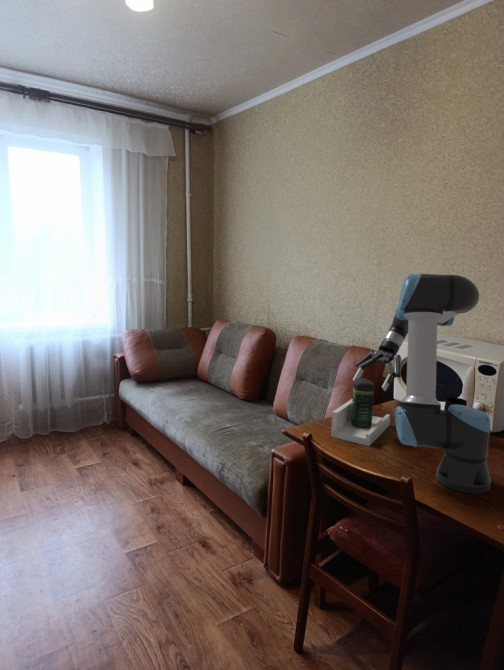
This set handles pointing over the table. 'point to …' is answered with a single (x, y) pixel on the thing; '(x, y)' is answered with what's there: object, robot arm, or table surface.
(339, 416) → the channel shelf
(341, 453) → the table surface
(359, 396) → the coffee jar
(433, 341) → the robot arm
